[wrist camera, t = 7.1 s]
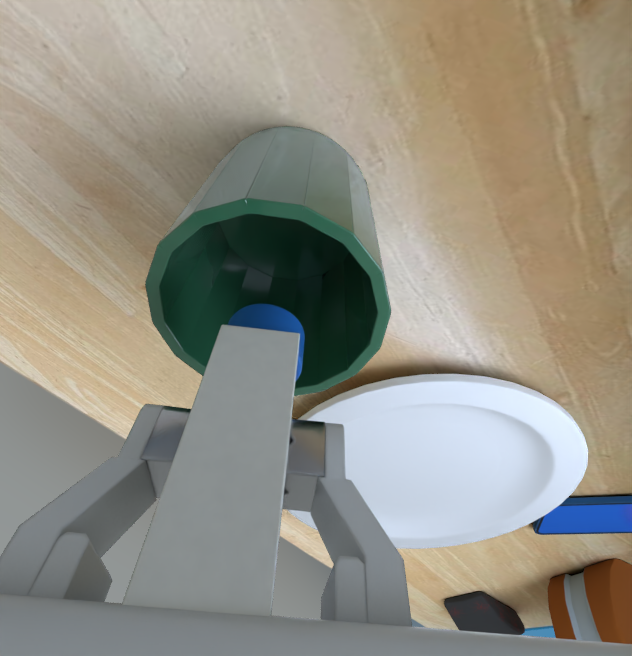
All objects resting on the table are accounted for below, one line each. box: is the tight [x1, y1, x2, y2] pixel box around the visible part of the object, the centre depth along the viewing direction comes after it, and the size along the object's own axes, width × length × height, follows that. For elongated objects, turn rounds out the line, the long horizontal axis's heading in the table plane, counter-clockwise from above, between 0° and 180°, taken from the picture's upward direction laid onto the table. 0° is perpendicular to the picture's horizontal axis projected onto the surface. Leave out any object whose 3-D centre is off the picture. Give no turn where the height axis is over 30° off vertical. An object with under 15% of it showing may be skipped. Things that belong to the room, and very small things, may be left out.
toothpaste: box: [122, 304, 305, 616], centre depth 10 cm, size 3×3×10 cm
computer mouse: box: [444, 592, 525, 635], centre depth 62 cm, size 8×14×4 cm, turn 43°
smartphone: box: [533, 496, 632, 535], centre depth 42 cm, size 7×1×15 cm
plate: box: [287, 374, 588, 549], centre depth 37 cm, size 28×28×2 cm
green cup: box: [145, 126, 391, 396], centre depth 19 cm, size 9×9×10 cm
